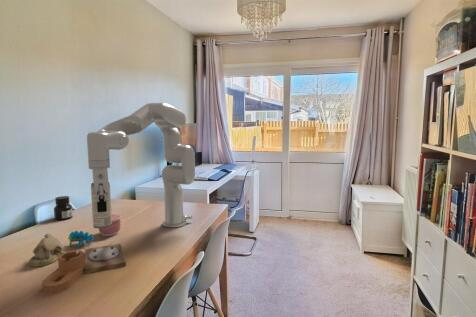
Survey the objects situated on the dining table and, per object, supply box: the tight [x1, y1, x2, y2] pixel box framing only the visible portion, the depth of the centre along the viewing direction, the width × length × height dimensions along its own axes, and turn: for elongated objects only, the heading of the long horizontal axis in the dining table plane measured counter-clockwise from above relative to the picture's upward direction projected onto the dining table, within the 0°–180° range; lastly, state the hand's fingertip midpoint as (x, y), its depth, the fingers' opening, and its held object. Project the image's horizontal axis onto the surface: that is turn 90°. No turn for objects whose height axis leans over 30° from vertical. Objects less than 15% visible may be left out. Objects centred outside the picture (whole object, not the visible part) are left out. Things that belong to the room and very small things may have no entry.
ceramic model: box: [28, 233, 66, 267], centre depth 126 cm, size 14×11×10 cm
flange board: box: [84, 243, 127, 274], centre depth 126 cm, size 14×20×3 cm
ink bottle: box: [53, 195, 73, 221], centre depth 177 cm, size 10×9×12 cm
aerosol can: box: [90, 175, 112, 229], centre depth 123 cm, size 7×7×20 cm
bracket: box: [41, 249, 85, 295], centre depth 109 cm, size 18×8×7 cm, turn 1°
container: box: [98, 213, 122, 237], centre depth 154 cm, size 10×10×8 cm
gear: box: [67, 230, 95, 248], centre depth 139 cm, size 11×6×10 cm
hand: (101, 208), depth 124 cm, fingers closed on aerosol can, 6 cm apart
